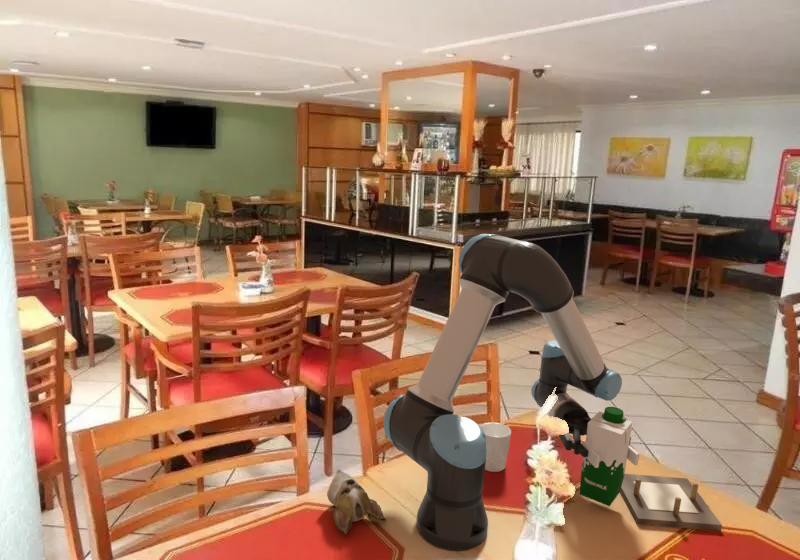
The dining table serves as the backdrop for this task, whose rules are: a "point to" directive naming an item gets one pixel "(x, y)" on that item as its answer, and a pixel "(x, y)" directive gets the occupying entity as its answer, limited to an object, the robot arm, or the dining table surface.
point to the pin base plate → (667, 502)
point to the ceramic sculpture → (351, 502)
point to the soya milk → (606, 455)
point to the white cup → (496, 445)
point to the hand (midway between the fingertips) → (617, 460)
